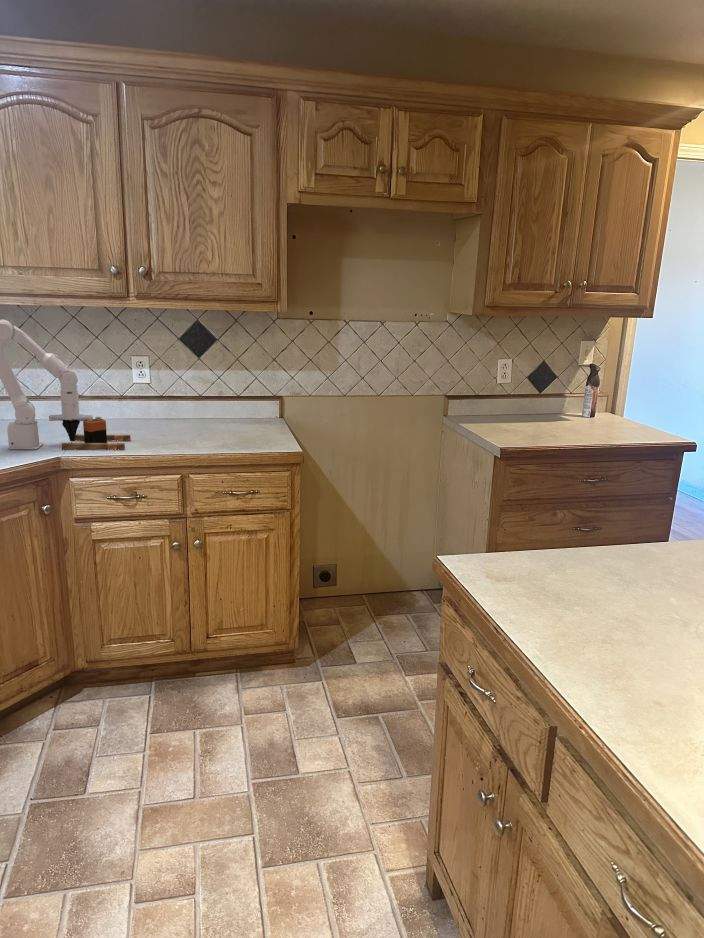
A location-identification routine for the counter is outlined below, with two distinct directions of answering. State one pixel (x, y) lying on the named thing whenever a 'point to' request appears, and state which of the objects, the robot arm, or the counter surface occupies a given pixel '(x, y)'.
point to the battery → (95, 430)
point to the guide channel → (97, 445)
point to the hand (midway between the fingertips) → (72, 440)
